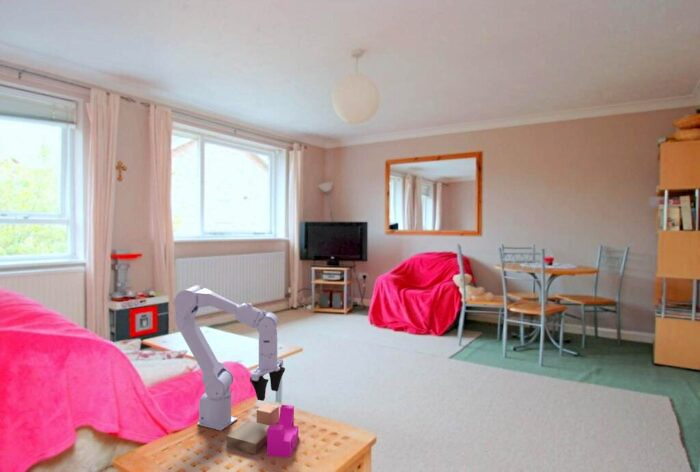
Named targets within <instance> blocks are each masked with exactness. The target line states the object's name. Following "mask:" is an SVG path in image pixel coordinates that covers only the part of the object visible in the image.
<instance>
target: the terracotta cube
mask: <svg viewBox="0 0 700 472" xmlns="http://www.w3.org/2000/svg"><path fill="white" fill-rule="evenodd" d="M279 416H280V406H279V405H275V404H270V403H265V404H263V405H262V406H260V407H259V408H257V409H256V422H257V423H261V424H265V425H270V424H271V425H277V424H278V422H279Z"/></svg>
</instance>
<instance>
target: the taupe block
mask: <svg viewBox="0 0 700 472" xmlns="http://www.w3.org/2000/svg"><path fill="white" fill-rule="evenodd" d="M269 426H270V425H265V424H261V423H257V421H254V420H253V421H252V420H247V421H246V422H244V423H243V424H241V425H240V426H238V428H236V429H234V430H233V431H232V432H230V433H228V435H227V436H226V447H227V448H230V449H234V450H238V451H242V452H245V453H249V454H253V455H257V454H259V453H261V451H262V450H264V448H267V429H268V427H269Z"/></svg>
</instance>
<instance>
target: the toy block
mask: <svg viewBox="0 0 700 472" xmlns="http://www.w3.org/2000/svg"><path fill="white" fill-rule="evenodd" d="M298 439H299V426H298V425H295V405H289V404H288V405H287V404H281V406H279V422H278V423H277V424H275V425H271V424H270V426H269V427H268V429H267V446H266V448H267V451H266V456H269V457H280V458H281V457H284V458H290V457H291V455H292V454H293V450H294V449H295V446H296V445H297V444H296V443H297V441H298Z"/></svg>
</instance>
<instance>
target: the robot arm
mask: <svg viewBox="0 0 700 472" xmlns="http://www.w3.org/2000/svg"><path fill="white" fill-rule="evenodd" d="M172 304H173V306H174V323H175V325H176V327H177V328H178V330H179V332H180V333H181V336H182V337H183V340H184V342H185V343H186V345H187V347H188V349H189V350H190V353H192V355H193V358H194V359H195V361H196V363H197V365H198V366H199V369H201V372H202V375H201V378H202V379H201V380H202V383H203V386H204V393H203V394H202V395H201V397H200V400H199V402H198V422H197V425H198V426H201V427H206V428H209V429H213V430H218V431H223V430H224V429H226V428H227V427H229V426H230V425H231V424H233V423H235V422H236V421H237V420H238V417H235V416H232V390H231V388H230V386H231V385H232V384H233V383H234V375H233V373H232V372H231V371H230V370H229V369H227V368H226V366H225V365H224V363H222V362H220V361H219V360H218V359H217V357H216V355H215V353H214V352H213V349H212V348H211V346H210V345H209V343H208V340H207V339H206V337H205V335H204V333H203V332H202V329H201V328H200V325H199V324H198V323H197V322H198V321H196V318H195V317H197V313H198V310H199V308H205V307H209V306H210V307H212V308H215V309H218V310H220V311H223V312H225V313H228V314H230V315H234V318H235V320H236V321H237V322H240V323H242V324H244V325H247V326H249V327H251V328H254V329H256V330H257V332H258V334H259V335H258V366H257V368H256V369H255V370H254V371H253V372H252V373H251V376H250V378H249V382H250V383H251V385H252V387H253V389H254V391H255V394H256V398H257V400H258V401H261V402H263V401H265V398H266V393H267V392H266V390H267V385H268V382H269V381H270V382H269V383H270V390H271V391H272V392H273V391H274V392H278V391H279V388H280V384H281V379H282V377H283V375H284V373H285V370H286V368H285V366H284V359H281V358H278V330H277V327H278V325H279V322H280V321H279V317H278V316H277V314H275V313H274V312H272V311H267V310H265V309H263V310H261V309H259V308H257V307H254V306H253V303H250V302H248V303H245V302H243V303H241V304H238V303H236V302H234V301H232V300H230V299H228V298H226V297H223V296H222V295H220V294H218V293H216V292H214V291H212V290H210V289H209V288H206V287H202V286H201V285H197V284H196V285H191V286H190V287H188V288H186V289H183V290H182V289H181V290H180V291H179V292H178V293H177V294H176V296H175V299H174V300H173V302H172ZM283 366H284V367H283ZM267 374H268V375H269V379H268V378H265V377H264V376H265V375H267Z"/></svg>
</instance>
